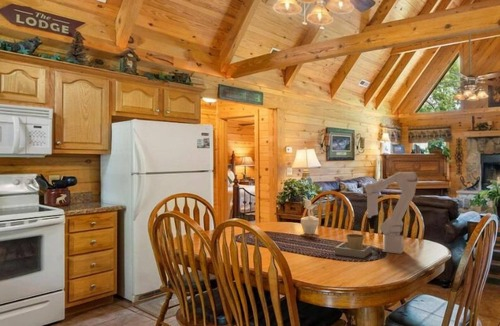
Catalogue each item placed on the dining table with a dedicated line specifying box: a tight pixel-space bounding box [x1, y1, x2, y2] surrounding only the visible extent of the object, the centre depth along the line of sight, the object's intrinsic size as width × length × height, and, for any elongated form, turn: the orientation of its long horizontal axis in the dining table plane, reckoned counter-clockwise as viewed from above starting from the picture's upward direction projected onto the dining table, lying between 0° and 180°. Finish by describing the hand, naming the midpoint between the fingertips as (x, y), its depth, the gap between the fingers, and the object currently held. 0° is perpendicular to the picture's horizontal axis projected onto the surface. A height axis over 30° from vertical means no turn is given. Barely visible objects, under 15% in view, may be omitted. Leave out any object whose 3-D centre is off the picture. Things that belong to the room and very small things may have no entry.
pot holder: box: [334, 241, 372, 259], centre depth 196 cm, size 15×14×4 cm
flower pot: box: [345, 233, 365, 250], centre depth 199 cm, size 9×9×9 cm
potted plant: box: [300, 197, 320, 235], centre depth 246 cm, size 13×12×25 cm
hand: (372, 228), depth 213 cm, fingers closed
